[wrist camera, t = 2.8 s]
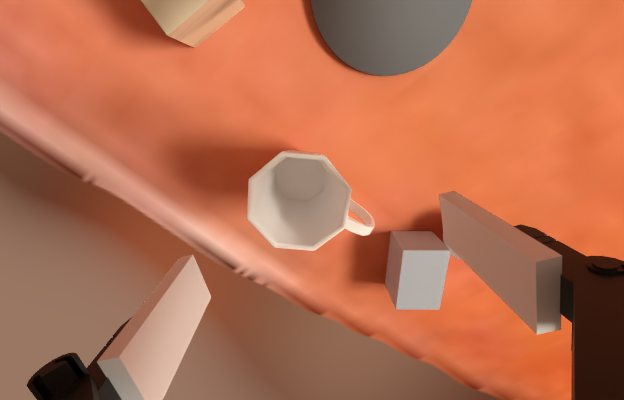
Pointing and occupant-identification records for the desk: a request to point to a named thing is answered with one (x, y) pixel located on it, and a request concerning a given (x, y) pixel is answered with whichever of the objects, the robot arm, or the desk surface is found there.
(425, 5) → the coaster
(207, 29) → the birch block
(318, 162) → the cup
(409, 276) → the greyblue block
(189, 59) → the desk surface
